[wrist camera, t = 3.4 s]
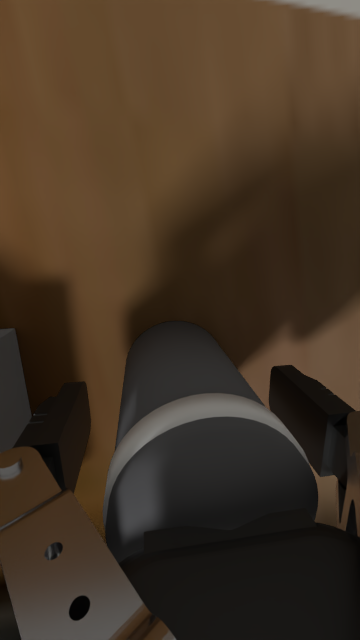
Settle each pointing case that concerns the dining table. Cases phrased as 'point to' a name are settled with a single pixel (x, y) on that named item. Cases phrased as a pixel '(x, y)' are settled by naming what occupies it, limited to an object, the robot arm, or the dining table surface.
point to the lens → (196, 444)
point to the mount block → (12, 391)
